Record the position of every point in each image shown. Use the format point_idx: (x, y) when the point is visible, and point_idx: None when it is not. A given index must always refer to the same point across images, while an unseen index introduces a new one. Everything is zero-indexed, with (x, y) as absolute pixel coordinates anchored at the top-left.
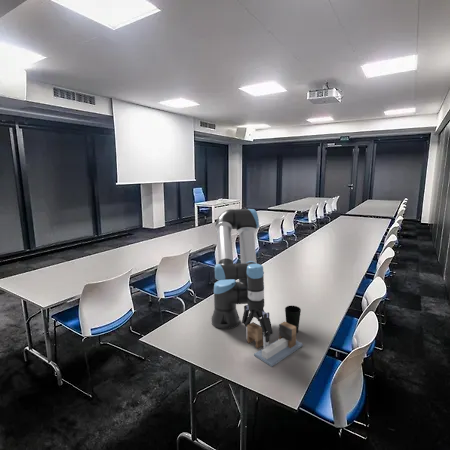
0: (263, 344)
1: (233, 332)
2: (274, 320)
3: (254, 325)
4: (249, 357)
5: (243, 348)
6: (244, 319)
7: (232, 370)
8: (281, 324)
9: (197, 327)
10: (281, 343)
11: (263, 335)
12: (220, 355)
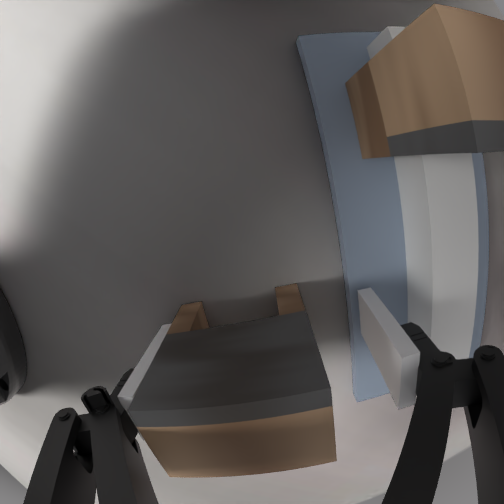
0: (371, 351)
1: (62, 359)
2: (59, 9)
3: (216, 443)
4: (345, 417)
5: None
6: (94, 484)
7: (359, 483)
8: (490, 122)
9: (12, 434)
10: (473, 228)
11: (402, 407)
12: (243, 490)
